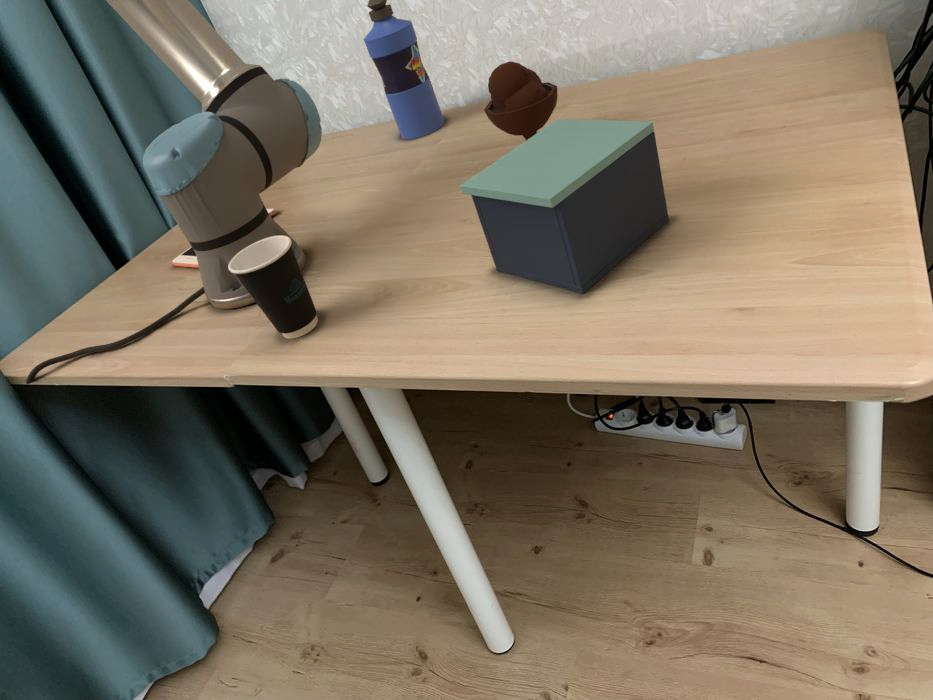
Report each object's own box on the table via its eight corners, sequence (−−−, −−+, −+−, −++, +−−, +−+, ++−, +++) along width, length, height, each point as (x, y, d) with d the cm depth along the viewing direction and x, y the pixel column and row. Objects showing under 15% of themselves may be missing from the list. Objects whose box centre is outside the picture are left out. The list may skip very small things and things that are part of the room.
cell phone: (277, 212, 125) (275, 208, 124) (202, 268, 114) (199, 263, 114) (247, 212, 130) (245, 208, 130) (173, 266, 120) (170, 261, 119)
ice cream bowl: (575, 159, 102) (550, 56, 94) (502, 181, 104) (472, 82, 96) (568, 135, 111) (545, 38, 102) (500, 155, 113) (472, 63, 104)
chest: (583, 294, 73) (559, 203, 67) (496, 270, 83) (469, 189, 77) (669, 220, 80) (654, 131, 74) (579, 206, 90) (560, 127, 84)
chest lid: (552, 208, 67) (550, 198, 66) (462, 193, 77) (459, 185, 76) (654, 130, 74) (653, 121, 73) (560, 126, 84) (558, 118, 83)
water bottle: (394, 143, 136) (342, 9, 122) (409, 124, 143) (362, -4, 129) (436, 133, 132) (388, -5, 119) (450, 114, 139) (406, -19, 125)
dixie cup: (275, 320, 91) (234, 248, 85) (331, 301, 91) (294, 227, 84) (267, 354, 85) (221, 279, 79) (327, 334, 84) (286, 256, 78)
